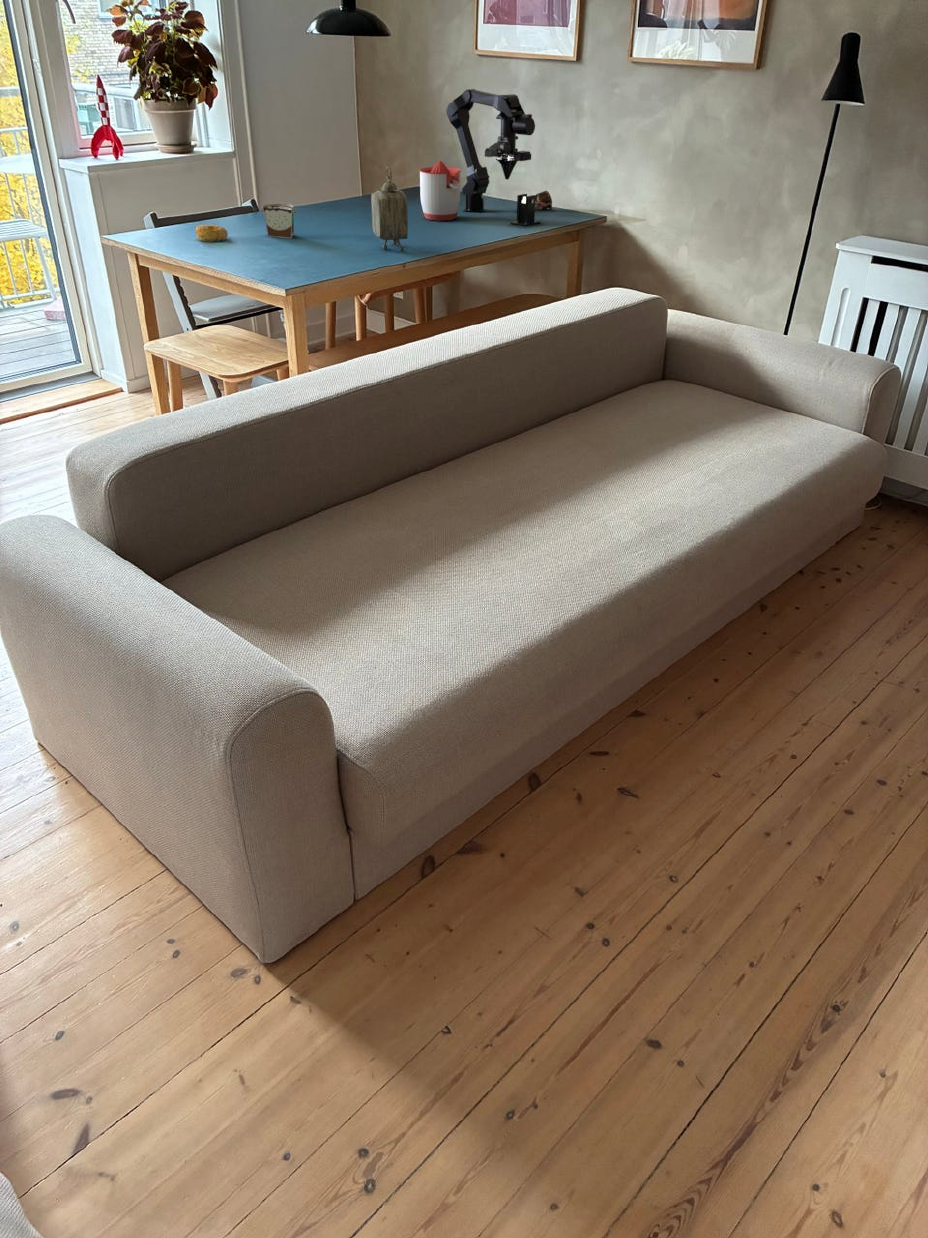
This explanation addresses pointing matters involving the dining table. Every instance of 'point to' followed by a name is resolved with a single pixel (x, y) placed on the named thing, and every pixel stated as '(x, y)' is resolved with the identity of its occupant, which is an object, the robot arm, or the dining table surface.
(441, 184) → the citrus juicer
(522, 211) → the bracket
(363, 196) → the dining table surface
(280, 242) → the dining table surface
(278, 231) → the food container
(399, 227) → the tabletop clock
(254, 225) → the dining table surface
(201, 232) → the bagel
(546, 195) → the mechanical counter
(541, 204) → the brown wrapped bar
